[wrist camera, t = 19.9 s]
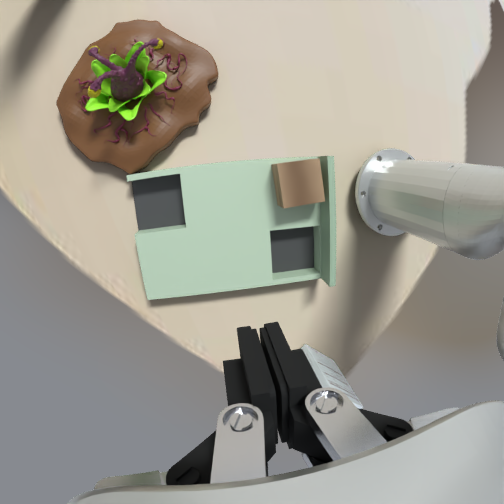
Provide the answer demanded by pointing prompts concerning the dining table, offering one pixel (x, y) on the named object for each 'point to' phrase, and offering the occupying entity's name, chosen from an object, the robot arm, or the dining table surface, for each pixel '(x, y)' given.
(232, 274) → the board
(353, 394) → the supplement box
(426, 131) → the dining table surface
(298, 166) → the walnut block
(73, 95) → the plant
